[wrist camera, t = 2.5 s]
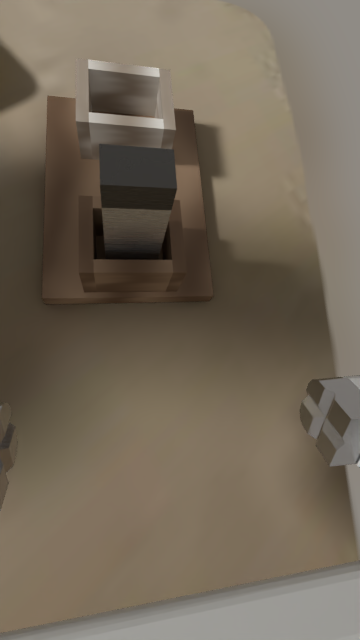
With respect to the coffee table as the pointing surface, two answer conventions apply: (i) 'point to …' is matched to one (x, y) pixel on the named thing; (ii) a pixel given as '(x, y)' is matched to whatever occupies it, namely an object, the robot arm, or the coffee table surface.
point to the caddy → (85, 198)
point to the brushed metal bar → (136, 199)
